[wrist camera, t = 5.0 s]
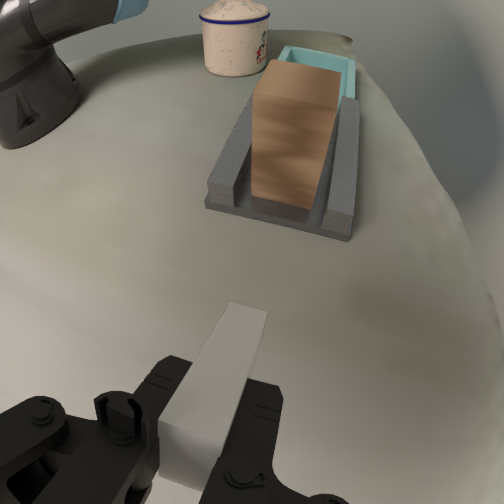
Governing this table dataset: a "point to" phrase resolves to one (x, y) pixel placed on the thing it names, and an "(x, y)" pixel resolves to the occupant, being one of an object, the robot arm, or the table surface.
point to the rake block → (292, 130)
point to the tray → (325, 66)
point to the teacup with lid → (235, 37)
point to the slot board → (314, 221)
